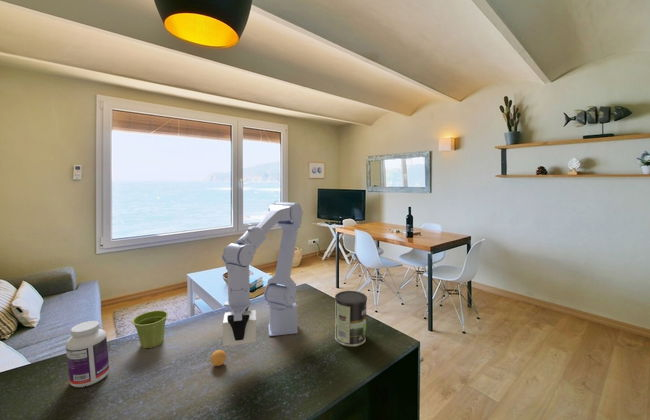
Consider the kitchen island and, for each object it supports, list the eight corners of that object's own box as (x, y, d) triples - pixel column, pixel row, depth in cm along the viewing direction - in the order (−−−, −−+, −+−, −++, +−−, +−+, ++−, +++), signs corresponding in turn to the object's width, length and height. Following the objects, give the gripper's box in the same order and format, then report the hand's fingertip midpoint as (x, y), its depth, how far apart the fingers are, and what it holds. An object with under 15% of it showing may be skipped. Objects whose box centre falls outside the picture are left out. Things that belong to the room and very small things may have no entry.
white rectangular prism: (255, 331, 85) (255, 310, 85) (256, 342, 80) (255, 319, 79) (225, 334, 83) (225, 312, 83) (223, 346, 78) (222, 322, 77)
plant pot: (142, 356, 84) (140, 328, 83) (129, 345, 90) (127, 318, 89) (174, 342, 92) (173, 316, 91) (161, 332, 97) (159, 307, 96)
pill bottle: (104, 364, 81) (100, 315, 79) (113, 376, 76) (109, 324, 74) (66, 379, 74) (61, 326, 73) (73, 394, 69) (67, 338, 68)
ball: (208, 356, 82) (221, 362, 83) (206, 365, 78) (219, 371, 79) (217, 344, 82) (229, 350, 83) (215, 352, 78) (228, 358, 79)
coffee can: (366, 331, 99) (367, 291, 97) (365, 348, 89) (366, 304, 87) (337, 328, 101) (337, 289, 99) (332, 344, 91) (332, 301, 89)
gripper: (226, 278, 86) (227, 322, 87) (220, 298, 72) (222, 349, 73) (250, 277, 87) (251, 319, 89) (249, 296, 73) (250, 346, 75)
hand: (240, 333), depth 81 cm, fingers closed on white rectangular prism, 6 cm apart
